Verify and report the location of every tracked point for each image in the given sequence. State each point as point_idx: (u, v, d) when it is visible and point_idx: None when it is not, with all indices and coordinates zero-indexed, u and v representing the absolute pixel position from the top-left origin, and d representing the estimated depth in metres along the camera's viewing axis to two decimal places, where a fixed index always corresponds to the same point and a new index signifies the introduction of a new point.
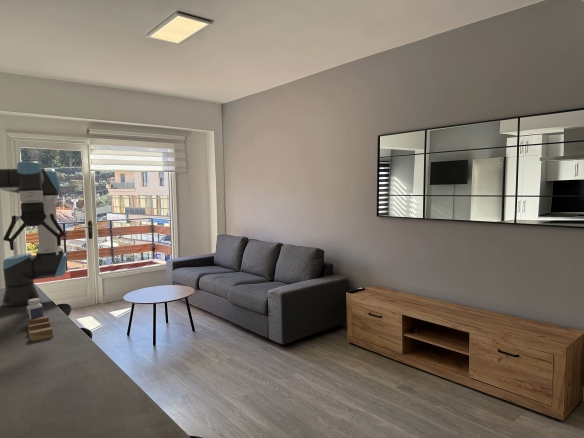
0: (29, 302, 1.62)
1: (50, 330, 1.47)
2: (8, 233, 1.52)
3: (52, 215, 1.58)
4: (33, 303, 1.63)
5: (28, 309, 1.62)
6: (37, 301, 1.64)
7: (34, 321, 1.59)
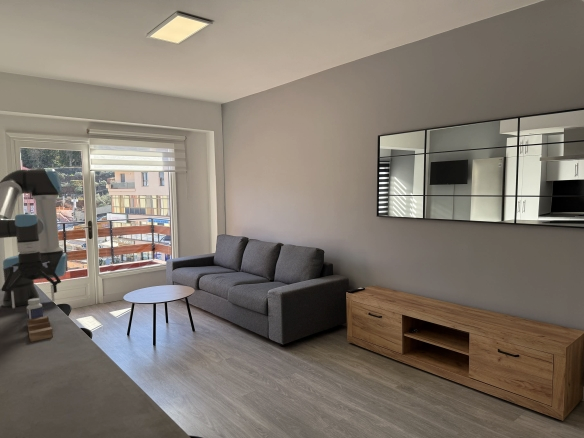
0: (29, 302, 1.62)
1: (50, 330, 1.47)
2: (6, 284, 1.58)
3: (49, 264, 1.66)
4: (33, 303, 1.63)
5: (28, 309, 1.62)
6: (37, 301, 1.64)
7: (34, 321, 1.59)
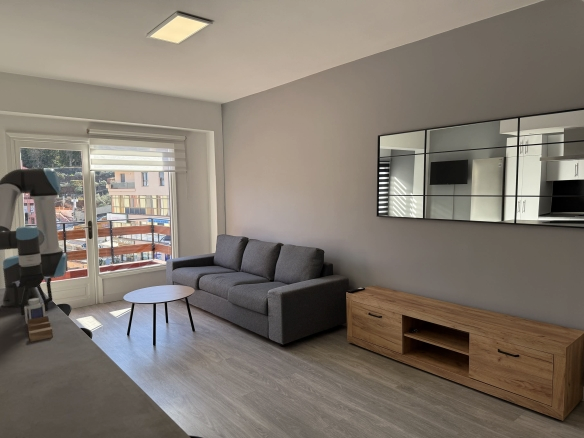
0: (29, 302, 1.62)
1: (50, 330, 1.47)
2: (17, 299, 1.60)
3: (50, 279, 1.66)
4: (33, 303, 1.63)
5: (28, 309, 1.62)
6: (37, 301, 1.64)
7: (34, 321, 1.59)
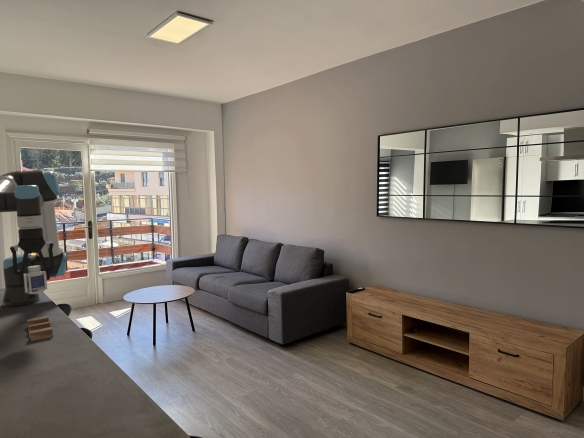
0: (29, 269, 1.46)
1: (50, 330, 1.47)
2: (15, 265, 1.44)
3: (52, 245, 1.50)
4: (33, 270, 1.47)
5: (28, 276, 1.46)
6: (38, 268, 1.48)
7: (34, 321, 1.59)
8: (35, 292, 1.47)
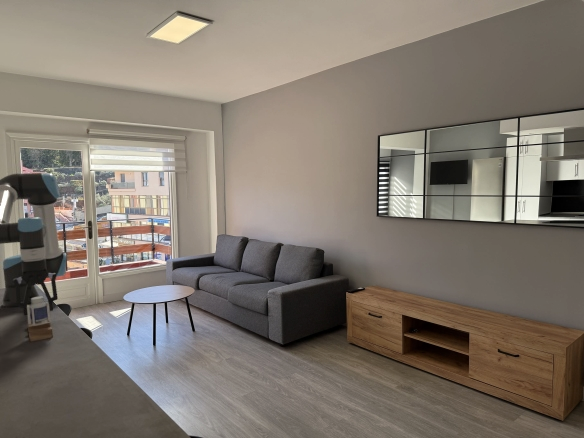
0: (32, 301, 1.47)
1: (50, 330, 1.47)
2: (18, 298, 1.45)
3: (55, 276, 1.51)
4: (36, 302, 1.48)
5: (31, 308, 1.47)
6: (41, 299, 1.49)
7: None
8: (38, 324, 1.48)
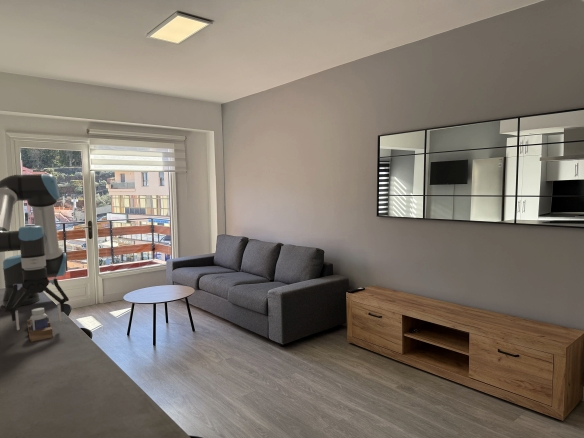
0: (33, 312, 1.48)
1: (50, 330, 1.47)
2: (10, 303, 1.44)
3: (56, 280, 1.51)
4: (37, 313, 1.48)
5: (32, 320, 1.47)
6: (42, 311, 1.49)
7: None
8: None
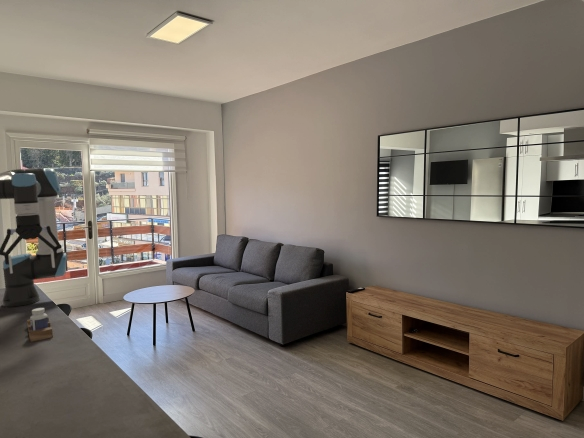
0: (33, 312, 1.48)
1: (50, 330, 1.47)
2: (3, 247, 1.48)
3: (49, 227, 1.55)
4: (37, 313, 1.48)
5: (32, 320, 1.47)
6: (42, 311, 1.49)
7: None
8: None
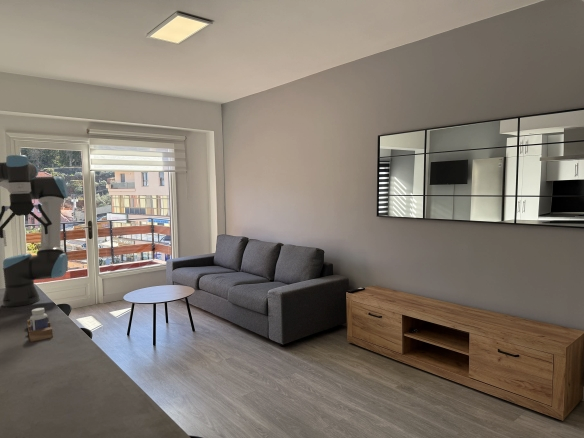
0: (33, 312, 1.48)
1: (50, 330, 1.47)
2: None
3: (40, 205, 1.70)
4: (37, 313, 1.48)
5: (32, 320, 1.47)
6: (42, 311, 1.49)
7: None
8: None
